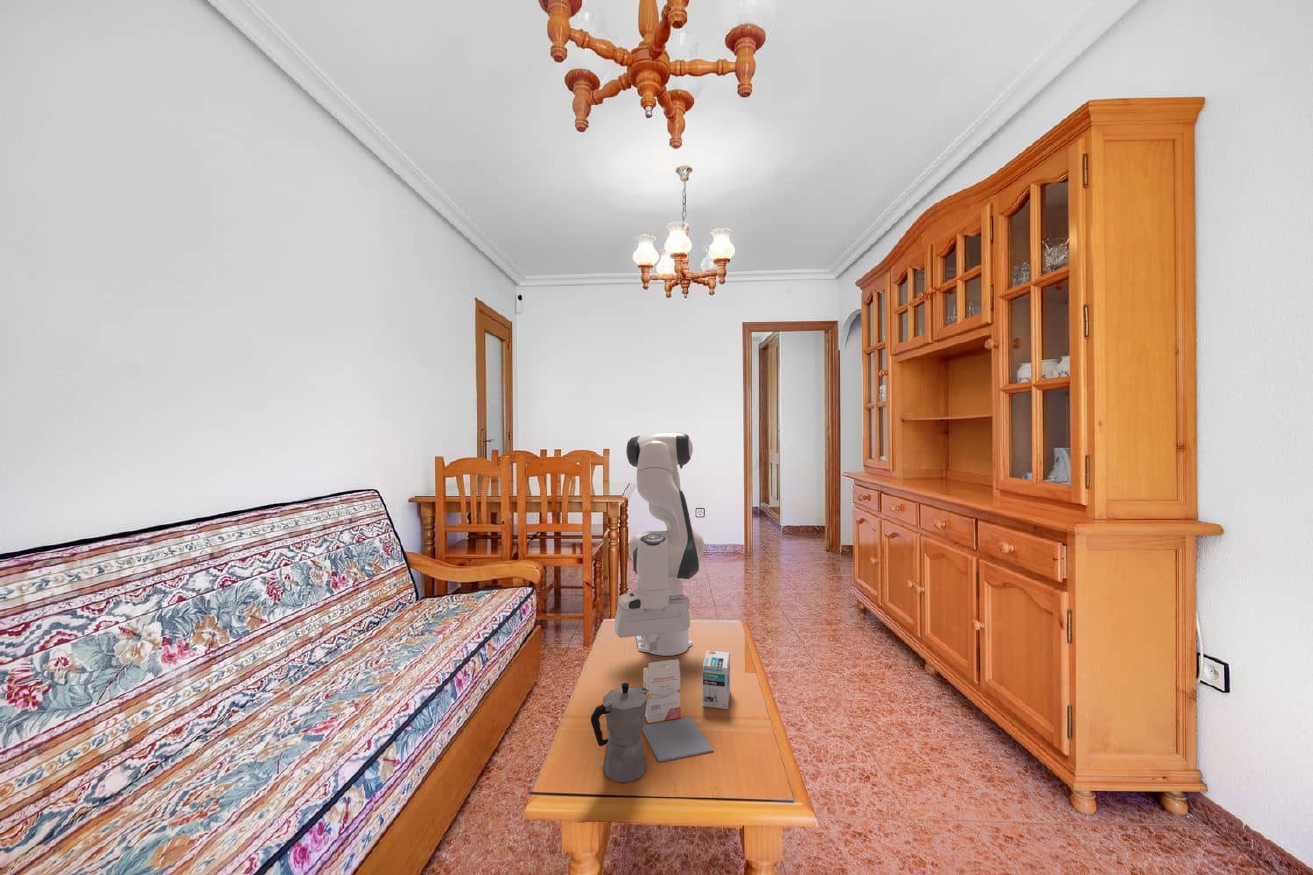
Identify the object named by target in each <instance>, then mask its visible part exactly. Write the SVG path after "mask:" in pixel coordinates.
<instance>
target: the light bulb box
mask: <svg viewBox="0 0 1313 875" xmlns="http://www.w3.org/2000/svg"><path fill="white" fill-rule="evenodd" d="M703 660H704V661H703V664H702V707H705V708H713V709H714V708H715V709H721V710H728V708H729V702H730V695H731V652H726V651H725V652H724V651H717V650H706V652H705V656H704V659H703Z"/></svg>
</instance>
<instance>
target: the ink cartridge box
mask: <svg viewBox="0 0 1313 875" xmlns="http://www.w3.org/2000/svg"><path fill="white" fill-rule="evenodd" d="M647 666H648V667H643V669H642V671H643V672H642V673H643V677H642V678H643V682H642V683H643V684H642V685H643V686H642V687H643V688H646V689H647V690H649V691H648V693H647V694H646V697H647V698H648V699H647V706H646V712H645V717H646V718H645V719H646V722H647V723H649V724H654V723H660V722H666V721H672V720H678V719H681V671H680V659H679V658H676V659H670V660H669V659H668V660H661V661H653V662H648V665H647Z"/></svg>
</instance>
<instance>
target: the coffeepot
mask: <svg viewBox="0 0 1313 875" xmlns="http://www.w3.org/2000/svg"><path fill="white" fill-rule="evenodd" d="M648 691H649V690H647V689H646V688H642V687H638V688H632V687H630V684H629V683H628V682H623V683H621V687H619V688H616V689H615V688H614V689H611V690H610V691H608V692H607V693H606V694H605V695H604V696H602V699H603V703H601V704H600V705H597V706H596V707H595V709H594V711H593V712H592V714H591V716H590V723H591V726H592V729H593V732H594V735H595V739H596V743H597V745H598V747H604V746H605V752H604V757H603V762H602V769H603V771H604V775H605V777H606V778H607V779H609V780H611V781H612V782H616V783H621V782H622V783H624V784H625V783H630V782H631V783H632V782H634V781H637V780H639V779H641V777H642V776H644V774H645V771H646V770H647V769H648V768H647V767H648V766H647V762H646V755H645V748H644V743H643V738H642V732H643V731H642V729H643V725H645V719H646V718H645V712H646V706H647V699H648V698H647V697H646V694H647V693H648ZM602 715H605V722H606V729H607V730H608V731H607V732H609V733H608V734H609V736H608V738H605V739H604V738H603V731H602V729H601V728H602V727H601V721H600V719H601V716H602ZM622 783H621V784H622Z"/></svg>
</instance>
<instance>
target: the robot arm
mask: <svg viewBox="0 0 1313 875" xmlns="http://www.w3.org/2000/svg"><path fill="white" fill-rule="evenodd" d="M626 444H627V446H626V447H625V448H626V449H625V455H626V457H627V460H628V463H629V464H630V465H631V466H632V467H636V488H637V492H638V494H639V496H641V498H642V499H644V501H646V502H648V509H649V510H648V511H649V513H650V515H651V516H652V517H654V518H655V519H657V520H659V521H660V522H663V523H664V525H665V526H666V529H667V530H648V531H643V532H639V533H635V534H633V535H632V537H631V538H630V540H629V542H628V550H627V551H628V554H629V556H630V557H629V558H630V559H631V561H632V564H633V565H632V570H633V571H634V574H636V575H637V582H636V586H635V589H633V590H631V591H628V592H626V593H624V594H621V595H619V597H618V602H619V606H618V607H617V609H616V610H615V611H616V612H615V618H614V633H615V634H616V636H617V637H618V638H619V639H620V638H621V639H622V638H623V639H624V638H631V637H635V639H637V640H636V644H637V649H638V651H639V652H642V653H643V652H644V653H649V654H652V655H655V656H656V655H657V656H666V657H667V656H670V657H671V656H676V655H681V654H683V653H684V652H686V651H687V650H688V648H690V647H691V646H693V640H691V639H690V636H689V628H690V627H691V619H690V618H691V617H690V611H689V609H690V606H691V604H690V601H691V600H690V599H689V597H688V596H685V594H684V584H683V581H682V580H690V579H691V578H693V577H695V576H696V574H697V573H698V572H699V570H700V567H701V566H700V563H701V560H700V559H702V556H703V555H704V552H705V546H706V545H705V541H704V539H703V537H702V535H701V534H700V533H699V532H698V531H696V529H694V528H693V527H692V523H691V518H690V513H689V508H688V504H687V500H686V496H685V494H684V492H683V490H681V479H680V474H679V473H680V472H679V468H680V470H681V469H683V467H684V466H686V465H687V464H688V463H689V462H690V460H691V459H692V456H693V452H694V451H693V449H694V448H693V442H692V440H691V438H690V435H688V434H687V433H685V432H676V433H674V432H672V433H671V432H658V433H655V434H654V433H653V434H646V435H641V436H640V435H637V436H633V437H631V438H630V439H629V440H628V441H627V443H626ZM678 467H679V468H678Z"/></svg>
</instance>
